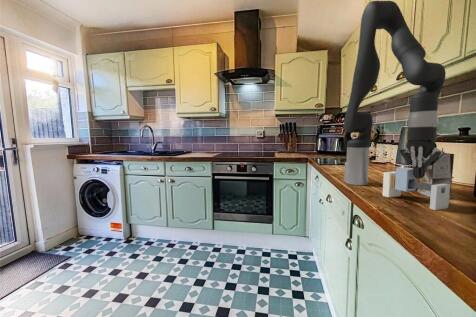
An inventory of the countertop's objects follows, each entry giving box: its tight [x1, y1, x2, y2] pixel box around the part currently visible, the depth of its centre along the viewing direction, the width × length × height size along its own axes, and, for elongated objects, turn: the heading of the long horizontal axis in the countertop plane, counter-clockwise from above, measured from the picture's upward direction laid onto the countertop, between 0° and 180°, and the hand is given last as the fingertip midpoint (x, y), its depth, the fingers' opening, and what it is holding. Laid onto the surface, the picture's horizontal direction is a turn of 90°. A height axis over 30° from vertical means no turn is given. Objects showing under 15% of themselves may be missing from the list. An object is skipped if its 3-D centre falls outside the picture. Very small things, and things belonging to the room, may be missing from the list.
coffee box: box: [416, 152, 455, 200], centre depth 84 cm, size 9×6×16 cm
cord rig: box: [382, 170, 450, 211], centre depth 77 cm, size 18×6×9 cm, turn 18°
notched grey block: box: [395, 167, 417, 193], centre depth 79 cm, size 4×5×8 cm
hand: (418, 177), depth 75 cm, fingers closed
